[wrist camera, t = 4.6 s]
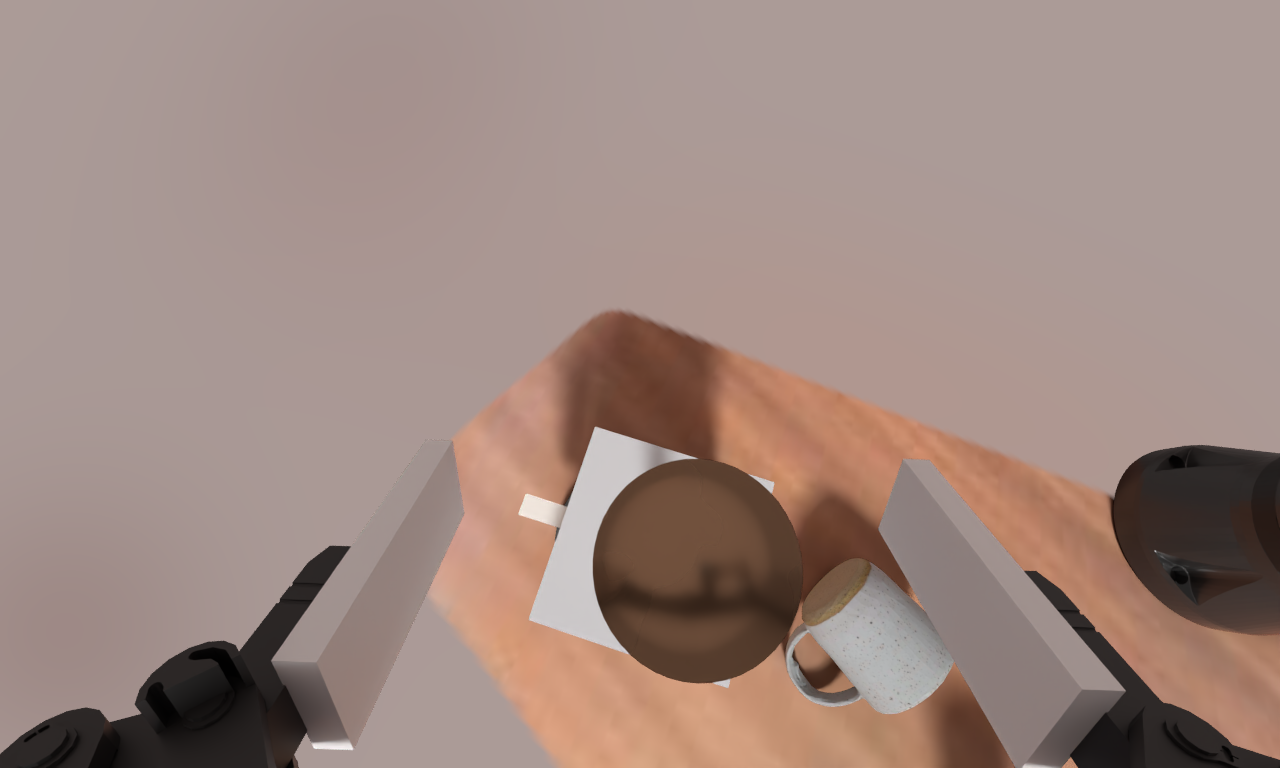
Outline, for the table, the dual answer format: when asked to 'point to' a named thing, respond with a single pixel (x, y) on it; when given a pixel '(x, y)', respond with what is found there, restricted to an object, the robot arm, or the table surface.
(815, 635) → the ceramic mug
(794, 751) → the table surface
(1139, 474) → the robot arm
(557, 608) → the jug
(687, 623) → the plunger
